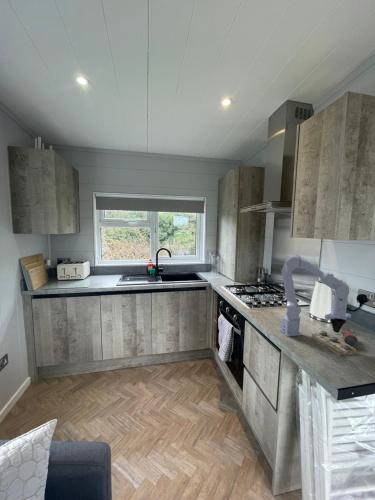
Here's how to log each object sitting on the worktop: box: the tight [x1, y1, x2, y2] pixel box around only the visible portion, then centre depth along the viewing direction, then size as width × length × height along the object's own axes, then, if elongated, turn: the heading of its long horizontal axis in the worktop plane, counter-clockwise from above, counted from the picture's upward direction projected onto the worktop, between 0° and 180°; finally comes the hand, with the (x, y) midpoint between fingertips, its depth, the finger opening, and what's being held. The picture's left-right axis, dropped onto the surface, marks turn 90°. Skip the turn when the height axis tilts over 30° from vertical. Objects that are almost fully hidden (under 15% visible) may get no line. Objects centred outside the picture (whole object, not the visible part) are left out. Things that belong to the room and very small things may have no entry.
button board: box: [311, 332, 357, 357], centre depth 114 cm, size 10×17×2 cm, turn 14°
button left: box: [320, 330, 328, 336], centre depth 120 cm, size 3×3×2 cm
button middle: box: [331, 336, 339, 343], centre depth 114 cm, size 3×3×2 cm
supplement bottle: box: [340, 327, 359, 347], centre depth 116 cm, size 6×6×11 cm
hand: (335, 331), depth 113 cm, fingers closed
